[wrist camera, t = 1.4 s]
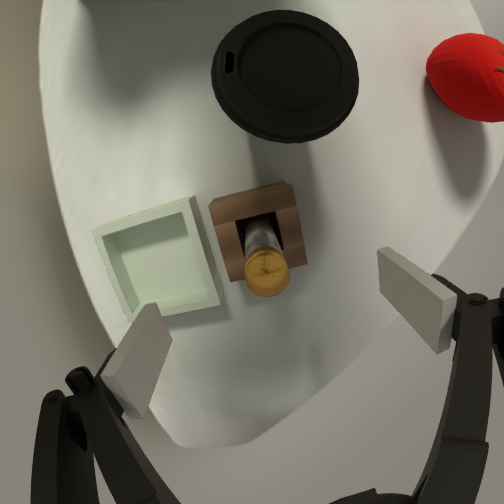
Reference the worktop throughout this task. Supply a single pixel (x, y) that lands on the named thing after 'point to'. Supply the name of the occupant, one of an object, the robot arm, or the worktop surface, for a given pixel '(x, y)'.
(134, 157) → the worktop surface
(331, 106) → the coffee cup
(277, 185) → the socket block
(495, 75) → the tomato
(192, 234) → the tray
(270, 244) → the pin
